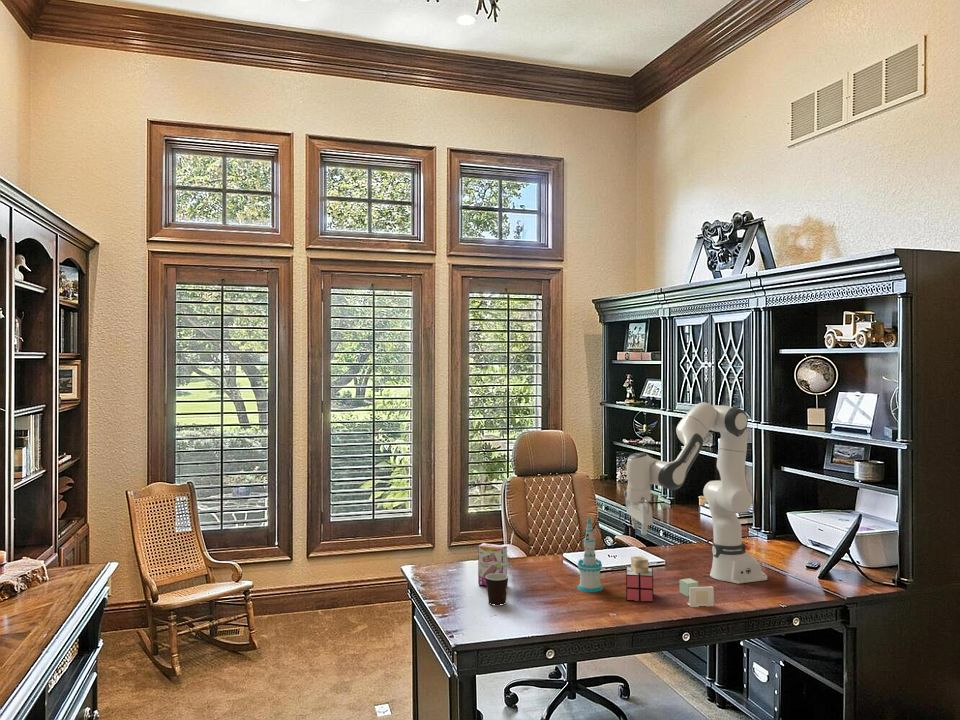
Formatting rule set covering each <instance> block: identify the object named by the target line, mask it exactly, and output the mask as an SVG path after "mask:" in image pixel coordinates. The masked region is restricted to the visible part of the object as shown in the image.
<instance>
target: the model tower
mask: <svg viewBox="0 0 960 720" xmlns="http://www.w3.org/2000/svg"><path fill="white" fill-rule="evenodd" d="M588 516H591V515H590V513H588ZM586 523H587V524H586V526H585V531H586V532H585V536H584V538H583V539H582V540H583V547H584V553H583V558H582V559H581V558H580V559H579V560H578V563H577V568H578V570H579V583H578V585H577V590H579V591H580V590H581V592H585V593H598V591H599V592H602V591H603V589H604V588H603V585H602V584H601V570H602V567H603V565H602V561H601V560H600V559H598V558H596V556H597V555H596V551H595V549H596V538H594V534H593V533H594V532H593V531H594V529H593V525H592V521H591V518H590V517H588V519H587V521H586ZM587 535H588V537H587Z"/></svg>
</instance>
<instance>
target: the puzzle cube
mask: <svg viewBox="0 0 960 720" xmlns="http://www.w3.org/2000/svg"><path fill="white" fill-rule="evenodd" d="M653 572H654V571H653V568H650V567H648V573H639V574H635V573H634V572H633V571H632V570H631V566H628V567H626V569H625V590H626V591H625V595H626V597H625V599H626V601H627V600H634V601H633V602H641V601H653V602H654V575H653V574H654V573H653Z"/></svg>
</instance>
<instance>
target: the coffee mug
mask: <svg viewBox="0 0 960 720" xmlns="http://www.w3.org/2000/svg"><path fill="white" fill-rule="evenodd" d="M508 582H509V576H508V574H507V575H506V574H502V573H492V574H488V575H486V585H487V586H486V593H487V598H488V604H489V603H491V604H495V605H500V604H504V603H507V593H508V584H509V583H508Z"/></svg>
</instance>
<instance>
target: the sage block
mask: <svg viewBox="0 0 960 720" xmlns="http://www.w3.org/2000/svg"><path fill="white" fill-rule="evenodd" d="M678 581H679V593H680V594H682V595H684V596H686V597H689V588H690V587H699V581H697V580H694V579H692V578H684V579H678Z"/></svg>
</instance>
